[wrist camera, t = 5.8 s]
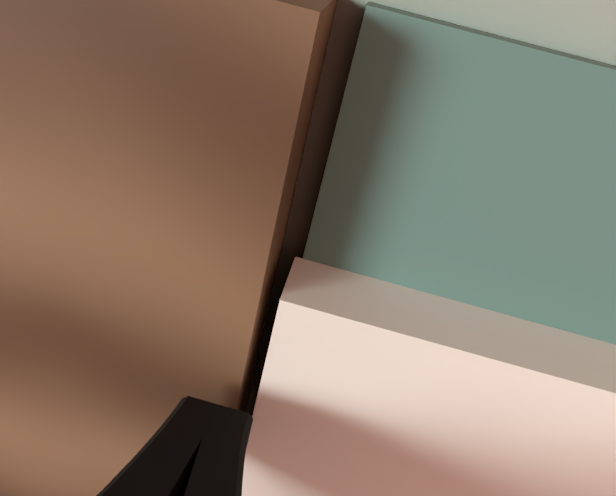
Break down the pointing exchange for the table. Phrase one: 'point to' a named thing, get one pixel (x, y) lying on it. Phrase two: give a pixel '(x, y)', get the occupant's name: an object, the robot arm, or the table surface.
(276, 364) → the tile
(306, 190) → the table surface
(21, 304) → the deck
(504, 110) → the mat
